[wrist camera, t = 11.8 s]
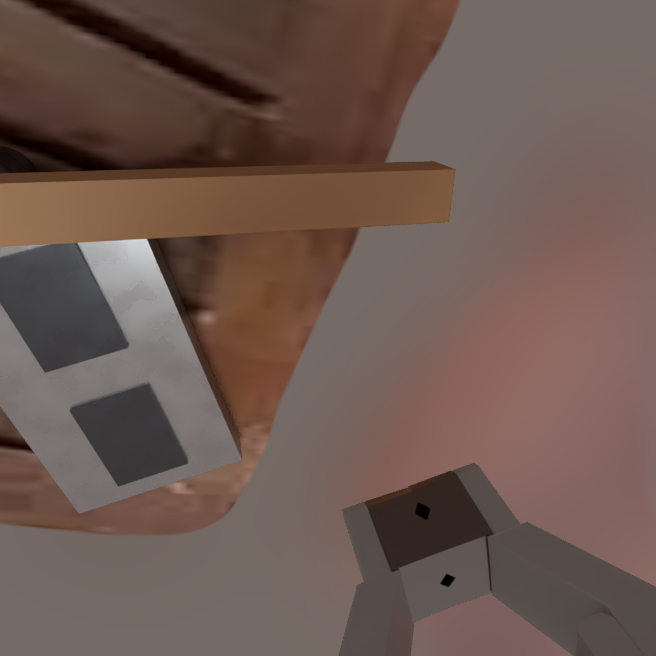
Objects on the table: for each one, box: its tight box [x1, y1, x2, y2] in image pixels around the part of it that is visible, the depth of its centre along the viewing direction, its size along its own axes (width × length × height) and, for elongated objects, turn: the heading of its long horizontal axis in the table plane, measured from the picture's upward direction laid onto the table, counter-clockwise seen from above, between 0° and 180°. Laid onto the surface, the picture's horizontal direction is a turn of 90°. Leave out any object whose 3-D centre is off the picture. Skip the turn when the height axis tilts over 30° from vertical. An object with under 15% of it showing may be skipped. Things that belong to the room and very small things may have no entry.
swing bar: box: [0, 161, 455, 247], centre depth 20 cm, size 23×4×2 cm, turn 89°
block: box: [0, 147, 242, 514], centre depth 28 cm, size 24×12×6 cm, turn 13°
